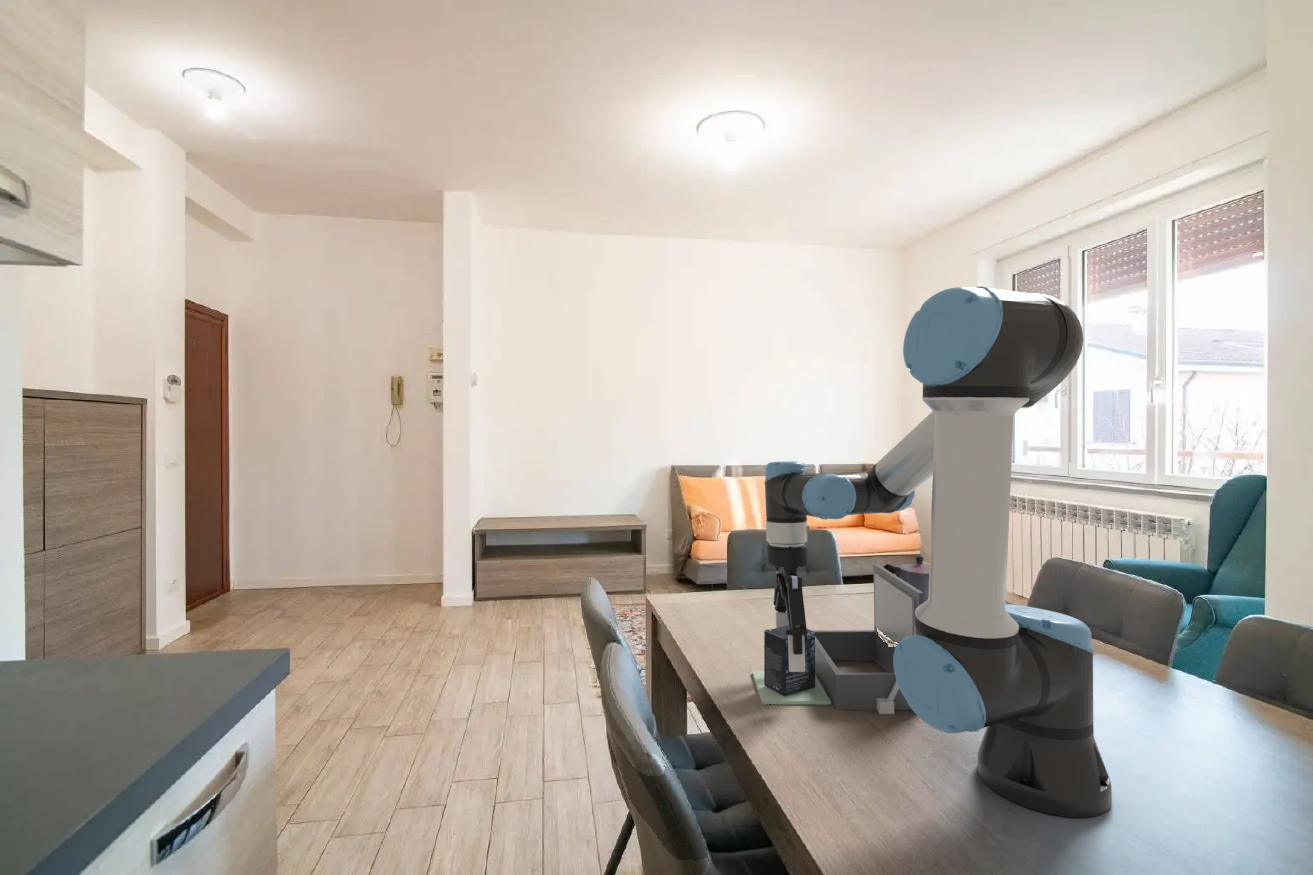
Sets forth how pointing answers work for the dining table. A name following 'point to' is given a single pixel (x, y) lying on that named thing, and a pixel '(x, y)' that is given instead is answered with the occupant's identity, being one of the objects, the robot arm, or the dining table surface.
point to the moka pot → (913, 575)
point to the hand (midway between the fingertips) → (789, 657)
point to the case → (869, 649)
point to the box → (787, 663)
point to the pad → (798, 698)
